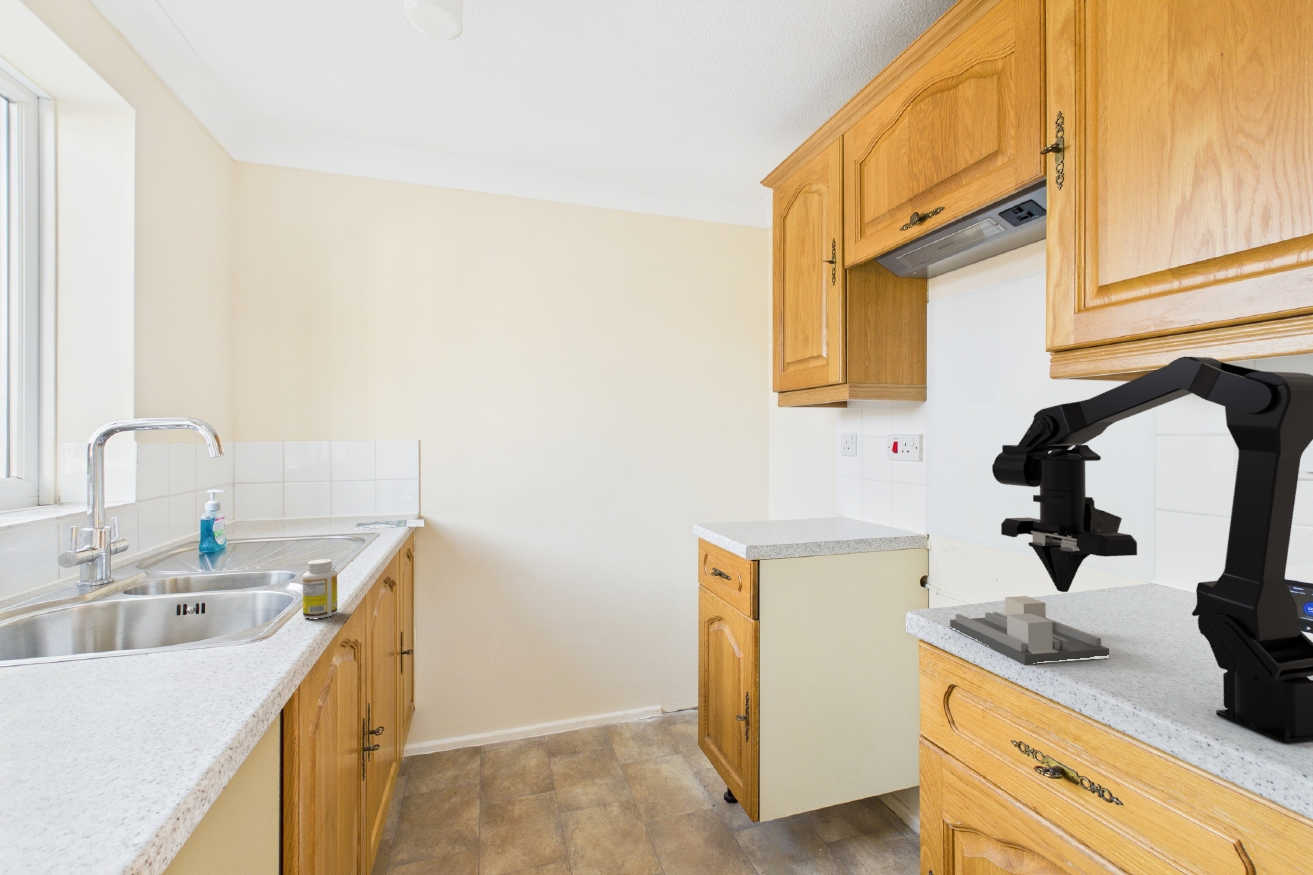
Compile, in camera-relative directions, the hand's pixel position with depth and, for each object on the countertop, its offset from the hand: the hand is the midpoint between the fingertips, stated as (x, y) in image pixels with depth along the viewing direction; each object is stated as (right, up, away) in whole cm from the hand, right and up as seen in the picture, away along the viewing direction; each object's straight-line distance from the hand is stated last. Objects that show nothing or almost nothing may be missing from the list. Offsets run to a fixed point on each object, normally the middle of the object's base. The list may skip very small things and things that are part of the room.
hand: (1062, 591), depth 87 cm
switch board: (-4, -9, +3) cm, 10 cm away
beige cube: (-1, -7, +7) cm, 10 cm away
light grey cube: (-7, -7, -2) cm, 10 cm away
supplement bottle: (-125, -10, +19) cm, 127 cm away
